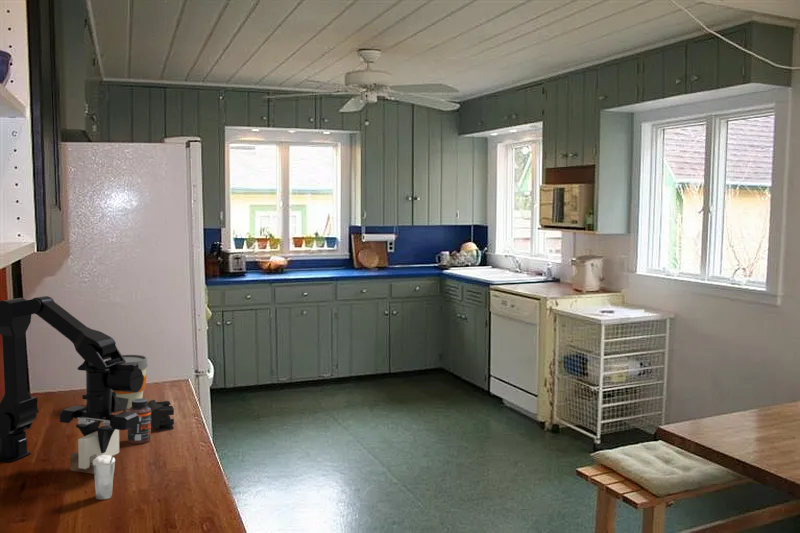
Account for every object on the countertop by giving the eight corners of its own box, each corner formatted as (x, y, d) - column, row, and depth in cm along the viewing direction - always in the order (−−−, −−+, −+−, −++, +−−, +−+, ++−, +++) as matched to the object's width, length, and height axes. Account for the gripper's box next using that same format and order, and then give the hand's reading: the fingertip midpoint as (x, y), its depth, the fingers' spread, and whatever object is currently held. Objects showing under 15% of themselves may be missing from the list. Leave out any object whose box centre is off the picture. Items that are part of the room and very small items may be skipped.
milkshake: (103, 503, 151) (103, 458, 150) (88, 497, 154) (88, 452, 153) (122, 496, 155) (122, 452, 154) (106, 491, 157) (106, 447, 157)
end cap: (143, 422, 207) (143, 400, 207) (168, 420, 210) (168, 398, 210) (147, 433, 198) (147, 409, 198) (174, 430, 202) (174, 406, 201)
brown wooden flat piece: (70, 470, 169) (70, 454, 169) (74, 468, 170) (73, 452, 170) (106, 475, 166) (105, 459, 166) (109, 473, 167) (109, 457, 167)
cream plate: (85, 469, 165) (85, 439, 165) (78, 468, 166) (78, 438, 165) (119, 452, 177) (119, 425, 176) (112, 451, 177) (112, 424, 177)
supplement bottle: (143, 445, 188) (143, 403, 187) (123, 443, 189) (122, 402, 188) (155, 438, 193) (155, 398, 192) (135, 436, 195) (135, 396, 194)
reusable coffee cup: (120, 398, 232) (120, 353, 231) (155, 401, 230) (155, 356, 228) (96, 408, 220) (96, 361, 219) (133, 412, 217) (133, 364, 216)
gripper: (153, 384, 175) (153, 446, 177) (89, 377, 180) (90, 437, 182) (124, 395, 165) (124, 461, 166) (57, 388, 170) (58, 451, 171)
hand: (99, 452), depth 171 cm, fingers closed on cream plate, 2 cm apart
